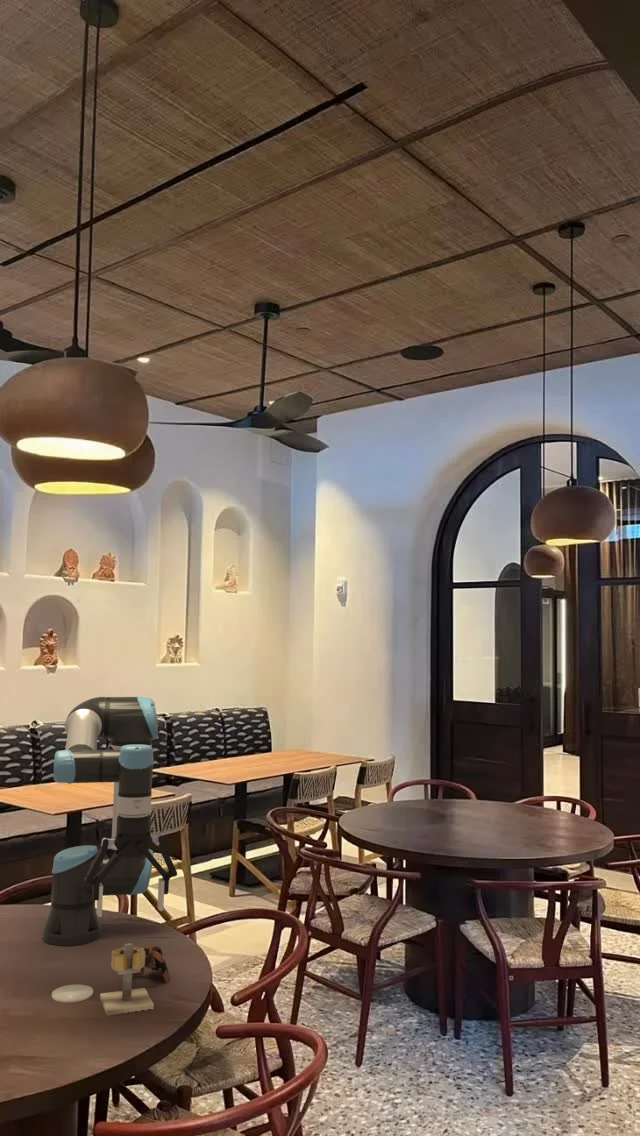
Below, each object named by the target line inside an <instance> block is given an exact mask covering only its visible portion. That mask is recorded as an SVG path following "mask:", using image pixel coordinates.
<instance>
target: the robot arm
mask: <svg viewBox="0 0 640 1136" xmlns="http://www.w3.org/2000/svg"><path fill="white" fill-rule="evenodd" d="M155 704H156V703H155V702H154V700H153V699H152V698H150V697H143V696H97V697H93V698H89V699H87V700H84V701H83V702H81V703H78V705H76V706H75V707H74V708H73V709H71V710H70V712H69V714H68V715H67V717H66V719H65V724H64V730H65V733H66V736H67V737H66V743H65V749H63V750H62V749H61V750H57V751H56V752H55V754H54V760H53V761H54V762H53V780H54V782H56V783H58V784H69V785H72V784H89V783H91V784H95V783H113V799H112V800H113V802H112V803H113V804H112V824H111V825H112V826H111V827H112V828H111V838H107V837H105V836H104V837H102V838H101V842H100V847H99V849H98V846H96V845H94V844H91V845H88V844H87V845H77V846H73V847H72V846H71V847H68V848H65V849H62V850H61V851H58V853H56V854H55V856H54V858H53V861H52V862H53V863H52V864H53V865H52V870H51V874H52V880H51V881H52V882H51V883H52V884H51V895H50V897H51V899H50V900H51V901H50V910H49V913H48V916H47V918H46V922H44V923H45V924H44V926H43V929H42V940H43V941H44V943H47V944H50V945H54V946H55V945H56V946H77V945H82V944H86V943H87V944H88V943H91V942H93V941H96V940H97V939H98V938H100V936H101V923H100V919H99V918H100V917H101V918H102V916H103V898H104V897H106V896H108V897H109V896H132V895H139V894H140V895H142V894H144V893H146V892H147V890H148V888H149V885H150V881H151V875H152V871H153V867H154V869H155V870H156V871H157V872H158V874H159V875H160V876H161V877H158V883H157V885H158V887H157V888H158V889H157V890H158V891H157V909H158V911H159V912H163V911H164V905H165V904H164V902H165V895H168V893H169V890H170V889H169V885H170V884H169V883H170V880H171V878H173V877H177V875H178V872H177V869H176V867H175V865H174V862H173V860H172V858H171V856H170V853H169V852H168V850H167V847H166V845H165V844H166V843H165V836H164V835H163V834H161V833H158V834H157V835H154V836H151V824H152V823H151V822H152V817H151V815H150V813H151V812H152V795H153V792H152V789H153V787H152V786H153V770H154V769H153V768H154V767H153V766H154V763H155V762H154V761H155V760H154V749H153V747H152V746H153V740H156V739H158V737H159V733H158V730H159V729H158V717H157V711H156V709H157V708H156V705H155ZM98 739H99V740H100V739H101V740H102V739H103V740H109V741H110V743H109V744H110V745H109V746H110V747H111V748H112V749H98V747H97V746H98ZM152 843H154V845H155V846H156V847H157V848H158V850H159V852H160V854H161V857H162V858H163V861H164V863H165V865H166V867H167V869H168V870H167V871H166V870H165V869H164V868H163V866H162V865H161V864H160V863H159V862H158V860H157V859H156V857H154V851H153V850H152V849H150V847H151V844H152Z"/></svg>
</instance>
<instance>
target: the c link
mask: <svg viewBox="0 0 640 1136" xmlns="http://www.w3.org/2000/svg"><path fill="white" fill-rule="evenodd" d="M145 957H146V954H145V950H144V949H143V948H142V947H139V946H135V945H133V960H132V969H135V970H139V969H141V968H143V967H144V966H145ZM110 958H111V960H110V962H111V963H110V967H111V968H112V970H114V972H115V971H116V972H117V971H120V972H124V971H126V970H127V964H128V955H124V946H121V947H117V948H116V949H114V950H112V951H111V957H110ZM144 968H145V967H144Z"/></svg>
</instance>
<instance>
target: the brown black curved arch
mask: <svg viewBox="0 0 640 1136" xmlns="http://www.w3.org/2000/svg"><path fill="white" fill-rule="evenodd" d="M142 949H144V950H145V966H144V967H143V968H141V972H137V973H132V978H136V977H138V976H141V977H145V975H144V972H145V968H146V969H150V970H151V971H159V970H160V971H161V972H160V973H161V976H162V979H164V981H163V982H164V983H165V984H166V983H168V981H169V980H170V974H169V969H168V966H167V963H166V960H165V958H164V956H163V951H162V949H161V948H160V946H153V947H151V946H147V947H143V948H142Z"/></svg>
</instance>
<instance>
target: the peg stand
mask: <svg viewBox="0 0 640 1136" xmlns="http://www.w3.org/2000/svg"><path fill="white" fill-rule="evenodd" d="M133 946H134V944H133V943H129V942H128V943H125V944H124V946H123V947H124V955H128V964H127V970H126V971H124V972H120V971H116V973H117V974H118V975H122V986H121V987H122V990H117V991H109V992H101V993H99V999H100V1002H101V1004H102V1007H103V1010H104V1012H105V1014H106V1016H114V1015H123V1014H129V1013H135V1011H137V1012H142V1011H141V1010H144V1011H149V1010H148V1009H151V1010H154V1009H155V1007H154V1006H155V1004H154V1002H153V1000H152V998H151V997H150V994H149V993H148V991H147V989H146V988H145V987H142V988H141V987H140V988H132V987H133V977H132V973H137V972H141V969H139V970H135V969H132V960H133ZM128 1012H129V1013H128ZM122 1013H123V1014H122Z"/></svg>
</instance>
